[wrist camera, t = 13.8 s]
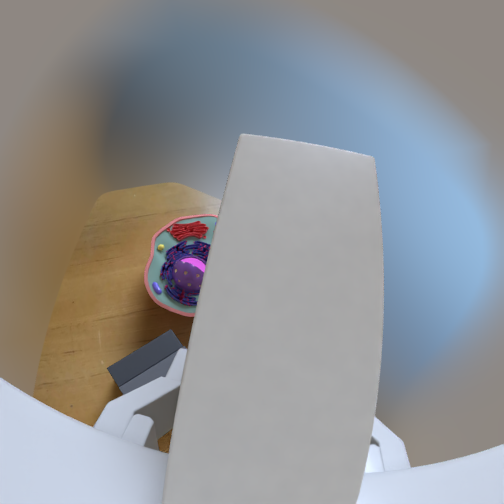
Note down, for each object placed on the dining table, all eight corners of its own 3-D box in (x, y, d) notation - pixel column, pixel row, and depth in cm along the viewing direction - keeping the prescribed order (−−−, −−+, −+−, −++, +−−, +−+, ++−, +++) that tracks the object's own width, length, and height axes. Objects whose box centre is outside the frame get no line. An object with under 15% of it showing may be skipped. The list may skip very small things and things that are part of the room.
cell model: (252, 262, 60) (271, 230, 51) (209, 348, 49) (222, 331, 39) (179, 222, 60) (186, 185, 50) (125, 300, 48) (118, 272, 39)
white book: (289, 308, 19) (374, 148, 6) (264, 463, 14) (312, 616, 2) (243, 300, 19) (242, 124, 6) (215, 456, 14) (151, 601, 2)
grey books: (201, 387, 45) (212, 382, 37) (149, 423, 39) (146, 426, 31) (168, 342, 47) (171, 327, 39) (115, 375, 41) (105, 367, 33)
